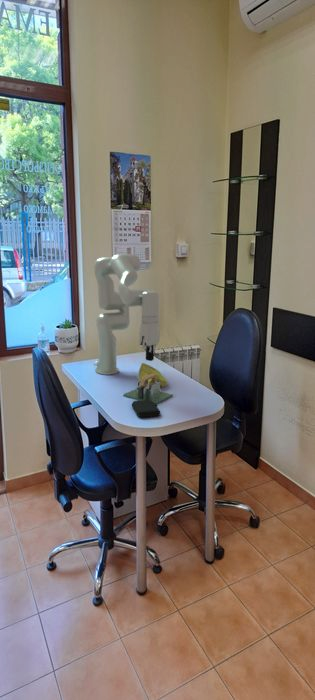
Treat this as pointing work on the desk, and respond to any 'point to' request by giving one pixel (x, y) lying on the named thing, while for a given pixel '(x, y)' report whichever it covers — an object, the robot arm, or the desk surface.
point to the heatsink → (148, 392)
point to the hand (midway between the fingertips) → (149, 360)
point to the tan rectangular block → (147, 379)
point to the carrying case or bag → (145, 409)
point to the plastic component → (149, 370)
